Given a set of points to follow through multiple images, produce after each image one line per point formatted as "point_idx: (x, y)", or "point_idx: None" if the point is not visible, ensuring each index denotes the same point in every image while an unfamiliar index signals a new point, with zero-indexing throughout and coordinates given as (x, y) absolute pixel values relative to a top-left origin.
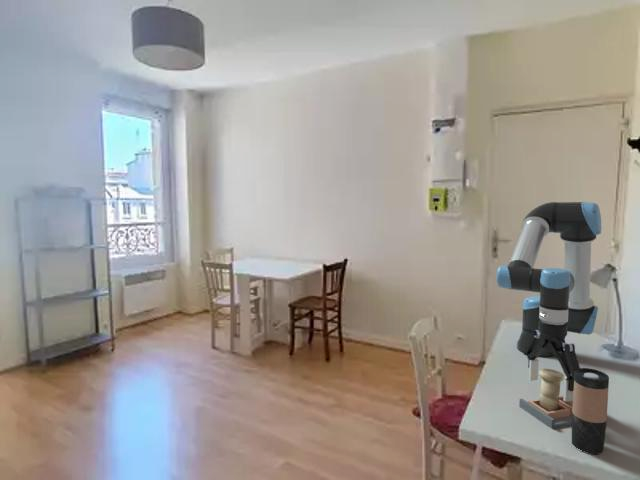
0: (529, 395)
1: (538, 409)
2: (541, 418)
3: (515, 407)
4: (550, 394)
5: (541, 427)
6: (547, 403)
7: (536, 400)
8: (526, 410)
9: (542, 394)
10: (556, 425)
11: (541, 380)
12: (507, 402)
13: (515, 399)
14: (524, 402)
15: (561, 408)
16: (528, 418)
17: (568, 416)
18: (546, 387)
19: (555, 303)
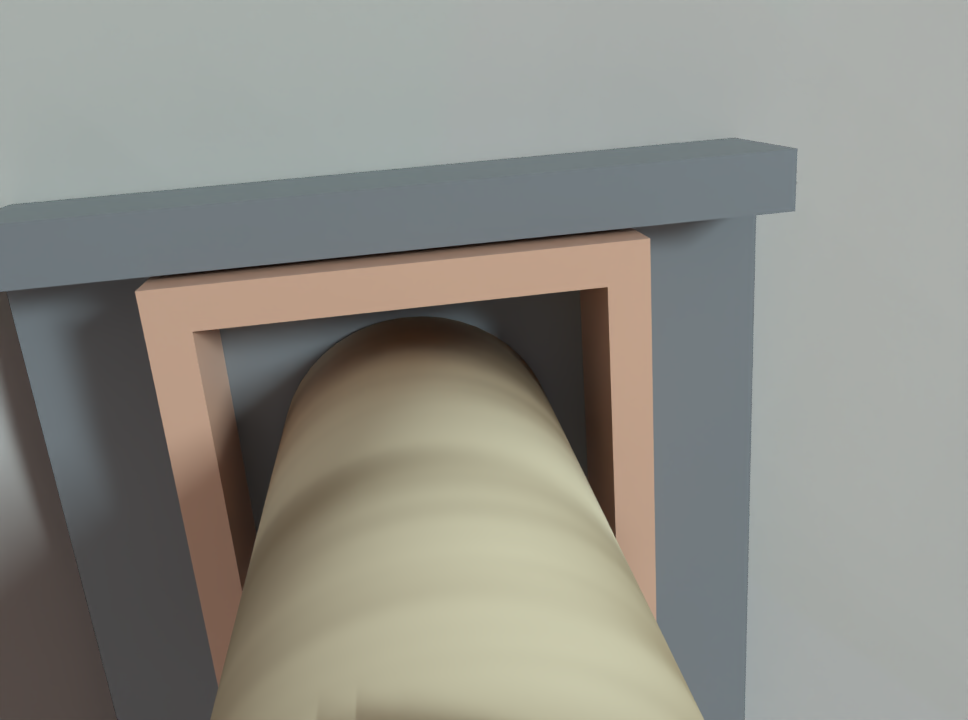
0: (956, 501)
1: (360, 241)
2: (225, 190)
3: (726, 52)
4: (261, 582)
5: (54, 61)
6: (310, 431)
7: (625, 391)
8: (573, 153)
9: (431, 449)
10: (20, 309)
11: (624, 683)
12: (902, 23)
13: (935, 224)
14: (662, 158)
15: None
16: (360, 34)
17: None
18: (329, 615)
19: None
